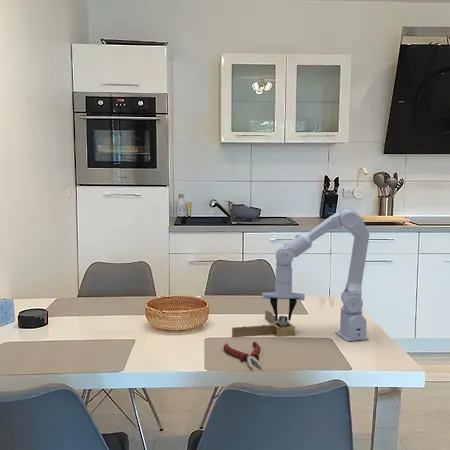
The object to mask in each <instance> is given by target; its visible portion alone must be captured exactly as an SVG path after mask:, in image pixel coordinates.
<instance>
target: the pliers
mask: <svg viewBox="0 0 450 450" xmlns="http://www.w3.org/2000/svg"><path fill="white" fill-rule="evenodd" d="M252 347H254V348H255V349H253V351H251V352H250V354H248V352H246V353H245V352H242V351H240V350H238V349H235V348H232V347H230V345H229V344H228V343H225V344H224V345H223V351H224V352H225V354H227V355H228V356H231V357H233V358H235V359H238V360H240V361H239V362H240V363H244V361H245V363H247V366H248V368H249V369H251V370H253V365H254V366H255V367H256V366H257V368H259V369H263V368H262V367H263V366H262V365H261V364H260V362H259V361H260V355H259V354H260V353H261V346H260V345H259V343H258V342H256V341H252ZM252 364H253V365H252Z"/></svg>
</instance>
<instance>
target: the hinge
mask: <svg viewBox="0 0 450 450" xmlns="http://www.w3.org/2000/svg"><path fill="white" fill-rule="evenodd" d="M264 319H265V320H266V321H267V322H269V324H266V325H265V324H262V325H251V326H238V327H231V337H232V338H241V337H254V336H264V335H265V336H266V335H267V336H268V335H269V336H270V335H275V336H276V337H288V336H290V335H291V336H296V334H295V333H296V326H295V325H293V324H292V323H291V322H290V321H289V320H287V327H279V318H278V320H275V314H273V312H271V311H269V310H264Z"/></svg>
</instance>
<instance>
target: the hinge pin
mask: <svg viewBox="0 0 450 450" xmlns="http://www.w3.org/2000/svg"><path fill="white" fill-rule="evenodd" d="M278 319H279V327H287V321H289V320H288V316H286V315H278Z"/></svg>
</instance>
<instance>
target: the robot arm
mask: <svg viewBox="0 0 450 450" xmlns="http://www.w3.org/2000/svg"><path fill="white" fill-rule="evenodd" d="M341 226H342V227H343V228H345V229H346V230H347V231H349V233H350V234H351V235H352V236H353V245H352V248H351V249H352V250H351V257H350V262H349V269H348V276H347V280H346V281H347V282H346V283H345V289H344V290H343V292H342V293H341V296H340V300H341V302H342V306H341V307H340V320H339V321H340V322H339V323H340V327H339V330H336V331H335V332H334V333H336V334H337V335H338V336H339V337H341V338H342V339H344V340H345V341H346V342H354V341H367V340H369V338H368V337H367V323H368V322H367V320H366V318H365V316H363V309H362V308H363V306H364V302H363V299H362V292H363V290H362V284H363V278H364V272H365V265H366V259H367V253H368V247H369V246H368V245H369V240H370V232H369V230H368V228H367V226H366V224H365V222H364V219H363V217H361V215H360V214H358V212H356V211H355V210H353V209H352V208H350V207H345V208H341V210H340V211H339V212H335V213H334V214H332V215H331V216H329V217H328V218H327V217H326V219H325V220H324V221H322V222H321V223H320V224H318V225H317V226H315V227H314V228H313V229H312V230H310V231H309V232H307V233H303V232H301V233H300V234H298V233H297V234H295V235H294V238H293V239H291V240H290V241H288V242H285V243H284V244H283V246H280V247H279V248H278V249H277V250H276V252H275V259H276V262H275V266H276V267H275V284H274V285H275V288H274V289H275V290H274V291H270V292H266V291H265V292H264V291H263V292H262V300H267V299H268V300H270V301H269V302H270V305H271V307H272V310H273V312H274V316H275V320H278V319H279V315H278V300H289V301H288V303H289V304H288V316H287V317H288V320H287V321H291V319H292V314H293V311H294V309H295V307H296V305H297V302H298V301H305V300H306V299H305V293H298V292H292V291H293V267H292V266H293V265H292V262H293V261H294V258H297V257H299V256H300V255H302V254H303V253H305V252H306V251H307V250H309V249H310V248H312V245H313V242H314V241H316V240H318V238H320V237H321V236H322V237H323V235H325V234H327V233H328V232H330V231H331V230H341V229H342V227H341Z"/></svg>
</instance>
